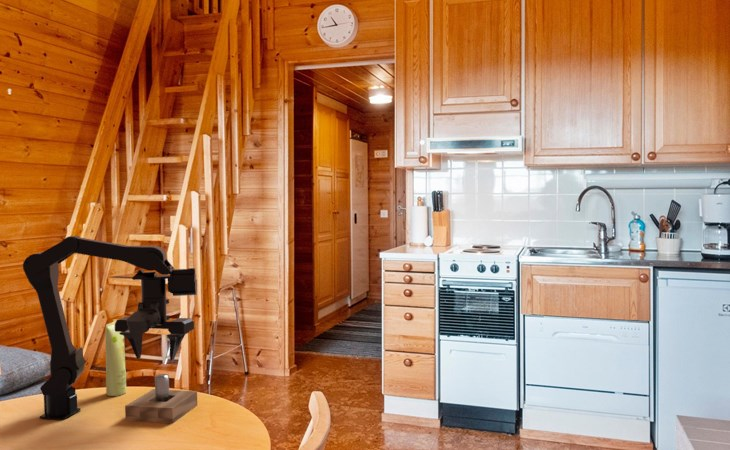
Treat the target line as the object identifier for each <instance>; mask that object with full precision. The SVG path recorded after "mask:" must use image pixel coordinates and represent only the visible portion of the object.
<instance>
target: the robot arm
mask: <svg viewBox="0 0 730 450" xmlns="http://www.w3.org/2000/svg"><path fill="white" fill-rule="evenodd" d="M74 254H77V255H78V254H79V255H83V256H92V257H96V258H103V259H110V260H114V261H120V262H124V263H127V264H129V265H132V266H134V267H137V268H140V269H138V270H137V272H136V273H135V274H134V275H133V276H132V277H131V278H132V281H133V280H134V281H135V280H137V281H138V280H139V281H140V284H141V286H140V287H141V288H140V291H141V293H140V294H141V301H140V302H138V304H137V310H136V311H135V312H133V313H131V315H130V316H124V317H122V318H118V319H116V320H115V321H116V323H115V331H116V332H120V335H124V338H126V339H127V340H128V342H129V343H130V345H131V348H132V350H133V353H134V355H135V358H136V359H137V360H138V359H141V356H142V351H143V334H145V333H147V332H149V331H150V329H155V330H157V329H159V330H167V331H168V332H169V334H167V335H166V337H167V338H168V340H169V358H170V359H169V361H174V360H175V358H176V356H177V353H178V350H179V348H180V345H181V344H182V341H183V339H184V337H185V336H186V334H189V333H190V331H193V330H195V321H193V318H190V317H188V318H187V317H177V318H176V319H173V320H170V315H168V314H167V305H168V304H170V299H169V298H167V292H168V293H170V294H172V296H173V297H180V296H183V297H184V296H197V294H198V280H197V273H196V268H195V267H189V268H176V269H175V267H174V266H173V265H172V264H171V262H169V260H168V259H167V254H166V251H165V250H164V248H162V247H161V246H159V245H125V244H120V243H115V242H114V243H113V242H108V241H104V240H103V241H102V240H97V239H91V238H85V237H84V238H83V237H81V236H78V235H70V236H67V237H65V238H64V239H63V240H61V241H60V242H58V243H56V244H54V245H53V246H51V247H50V248H47V249H46V250H44V251H41V252H36V253H32V254H30V255H28V256H27V257H26V258H25V259H24V260H23V262H22V269H23V272H24V274H25V277H26V278H27V280H28V283H29V284H30V285H31V286H32V288H33V289H34V290H35V292H36V295H37V298H38V302H39V305H40V306H39V307H40V310H41V314H42V318H43V321H44V325H45V328H46V334H47V336H48V341H49V345H50V349H51V354H50V361H49V368H50V377H49V378H48V379H47V380H45V382H44V383H43V384H42V385H41V386H40V388H39V389H40V391H41V393H42V395H43V407H44V408H43V409H44V413H42V414H40V415H39V419H46V420H48V419H49V420H60V421H61V420H66V419H67V418H69V417H71V416H73V415H75V414H76V413H78V412H80V411H81V408H80V407H78V394H77V393H76V387H74V386H73V385H74V384H75V383H76V380H78V378H79V377H80V376H82V374H83V372H84V370H85V364H86V363H87V360H86V359H85V357H84V349H83V347H82V346H81V347H79V348H76V347H75V345H74V344H73V342H72V339H71V336H70V331H69V327H68V324H67V323H68V322H67V320H66V316H65V311H64V308H63V303H62V300H61V296H60V291H59V289H58V288H59V279H60V269H59V267H60V264H61V263H62V262H64V261H66V260H67V259H68V258H70V257H71V256H74ZM144 270H146V271H144ZM166 279H167V280H166ZM166 281H167V283H166ZM166 285H167V286H166ZM166 288H167V289H166ZM169 320H170V321H169Z"/></svg>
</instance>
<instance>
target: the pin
mask: <svg viewBox="0 0 730 450" xmlns="http://www.w3.org/2000/svg"><path fill="white" fill-rule="evenodd" d="M154 389H155V401H158V402H167V401H168V400H170V399H169V390H170V374H168V373H160V374H157V375H154Z"/></svg>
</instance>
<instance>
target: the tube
mask: <svg viewBox="0 0 730 450" xmlns="http://www.w3.org/2000/svg"><path fill="white" fill-rule="evenodd" d="M116 321H117V320H114V321H113V322H109V323H107V324H105V388H106V389H105V390H106V395H107V396H109V397H118V396H121V395H124V394H125V393H127V373H126V355H125V354H126V352H125V349H126V348H125V336H124V335H120V332H116V331H115V323H116ZM125 387H126V388H125Z"/></svg>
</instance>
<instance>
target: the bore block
mask: <svg viewBox="0 0 730 450" xmlns="http://www.w3.org/2000/svg"><path fill="white" fill-rule="evenodd" d="M169 399H170V400H168V401H167V402H158V401H155V388H154V389H153V388H152V389H151V390H149V391H148V392H146V393H144V394H143V395H141V396H139V397H138V398H136V399H133V400H132V401H131V402H129V403H127V404H125V406H124V410H125V411H124V413H125V421H126V422H127V421H128V422H132V421H133V422H144V423H145V422H146V423H163V424H174V423H175V422H176V421H178V420H179V419H181V418H182V417H184V416H185V415H186V414H187V413H189V412H191V411H192V410H193V409H194V408H196V407H197V406H198V390H197V391H196V390H177V389H169Z"/></svg>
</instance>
